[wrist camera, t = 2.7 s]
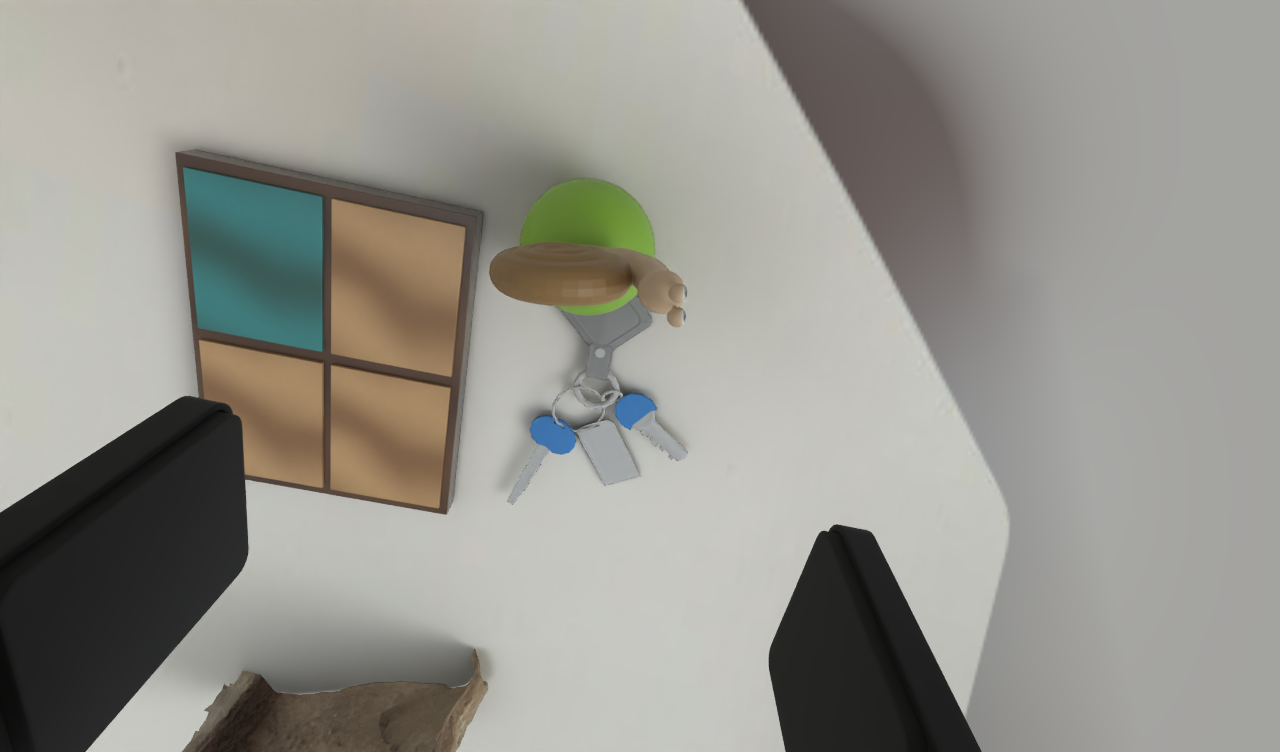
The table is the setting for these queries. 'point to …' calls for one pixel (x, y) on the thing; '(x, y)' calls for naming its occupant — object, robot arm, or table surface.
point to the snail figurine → (588, 255)
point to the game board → (331, 326)
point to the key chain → (602, 404)
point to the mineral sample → (339, 718)
